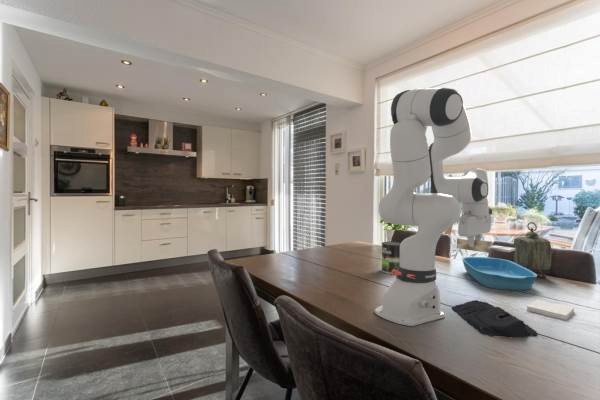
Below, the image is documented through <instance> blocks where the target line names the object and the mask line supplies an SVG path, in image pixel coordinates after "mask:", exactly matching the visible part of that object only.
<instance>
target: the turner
mask: <svg viewBox="0 0 600 400" xmlns="http://www.w3.org/2000/svg"><path fill="white" fill-rule="evenodd" d="M474 242H475V246H474V247H470V246H469V241H468V239H467V237H466V238H465V237H464V238H463V237H457V238H456V249H460V250H466V251H473V252H480V253H487V254H491V253H493V251H497V252H504V253H511V252H512V253H513V251H515V250H516V248H514V247H510V246H503V245H502V246H501V245H493V241H491V240H490V241H489V240H484V239H483V240H482V239H481V240H475V239H474Z"/></svg>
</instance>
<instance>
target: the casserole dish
mask: <svg viewBox="0 0 600 400" xmlns="http://www.w3.org/2000/svg"><path fill="white" fill-rule="evenodd" d="M462 263H463V266H464V269H465V271H466V272H467V273H468V274H469V275H470V276H471V277H472V278H473V279H474V280H475V281H477V282H478V284H481V285H482V286H484V287H487V288H489V289H496V290H506V291H507V290H512V291H527V290H529V289H531V288H532V287H533V285H534V283H535V281H536V279H537V277H538V274H537V273H535V272H533V270H532V271H530V270H528V269H526V268H524V267H522V266H520V265H518V264H517V263H515V262H514V261H511V260H509V259H503V258H495V257H489V256H467V257H466V256H465V257H462Z"/></svg>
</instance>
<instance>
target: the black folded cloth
mask: <svg viewBox="0 0 600 400" xmlns="http://www.w3.org/2000/svg"><path fill="white" fill-rule="evenodd" d="M451 310H452V311H453V312H454V313H456V314H457V315H458V316H459V317H460V318H462V320H463V321H464V322H466V321H467V322H466V323H467V324H469V325H470V326H471V327H472V326H473V327H472V328H474V329H475V330H476V329H477V330H478V331H479V332H478V331H477V330H476V331H477V332H478V333H480V334H481V335H484V334H485V335H487V336H488V337H491V338H495V337H494V336H504V337H505V338H510V337H512V338H514V339H515V338H516V337H517V338H526V337H532V336H538V332H537V331H536V330H535V329H533V328H532V327H530V326H529V325H528V324H526V323H525V322H524V320H521V319H519V318H517V317H516V316H515V315H512V314H511V313H509V312H508V311H506V310H504V309H503V308H501V307H500V306H494V305H492V304H490V303H488V302H487V301H481V300H478V299H475V300H471V301H467V302H464V303H461V304H460V303H459V304H456V305H454V306H452V307H451ZM492 336H493V337H492Z"/></svg>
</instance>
